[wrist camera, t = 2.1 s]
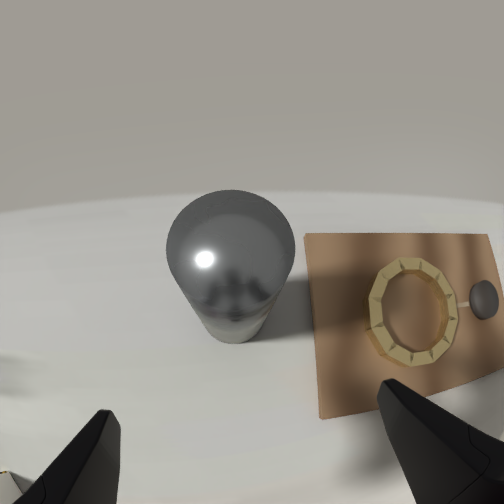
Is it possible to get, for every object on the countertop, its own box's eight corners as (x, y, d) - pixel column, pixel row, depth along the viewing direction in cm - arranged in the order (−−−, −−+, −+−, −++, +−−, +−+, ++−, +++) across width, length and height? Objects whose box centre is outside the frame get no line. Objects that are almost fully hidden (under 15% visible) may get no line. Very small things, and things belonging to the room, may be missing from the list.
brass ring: (462, 325, 21) (470, 323, 20) (398, 388, 19) (406, 388, 18) (414, 246, 24) (421, 240, 22) (342, 295, 22) (348, 291, 20)
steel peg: (275, 324, 21) (319, 268, 10) (220, 354, 20) (201, 332, 9) (245, 272, 23) (254, 173, 12) (191, 300, 22) (148, 221, 11)
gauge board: (483, 237, 25) (492, 230, 24) (507, 364, 20) (519, 361, 18) (303, 237, 24) (308, 227, 22) (319, 418, 19) (326, 421, 17)
